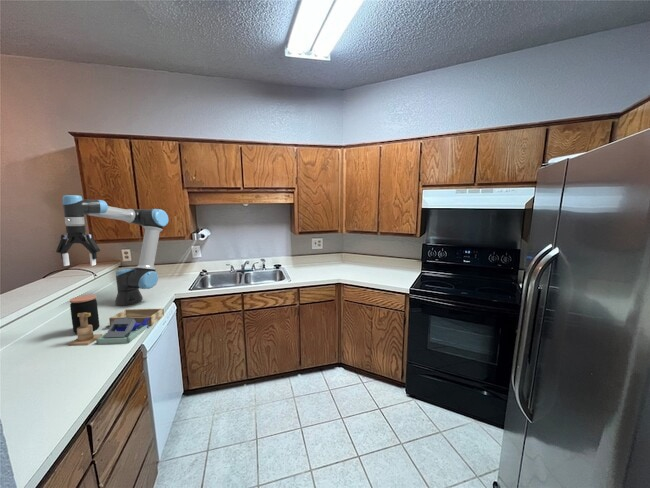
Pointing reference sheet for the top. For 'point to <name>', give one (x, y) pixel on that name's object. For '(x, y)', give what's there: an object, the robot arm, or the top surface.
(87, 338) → the handle
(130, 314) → the crate
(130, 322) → the gray rectangular frame
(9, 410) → the top surface
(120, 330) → the fish toy
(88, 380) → the top surface
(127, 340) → the tray
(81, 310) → the coffee jar
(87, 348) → the top surface
